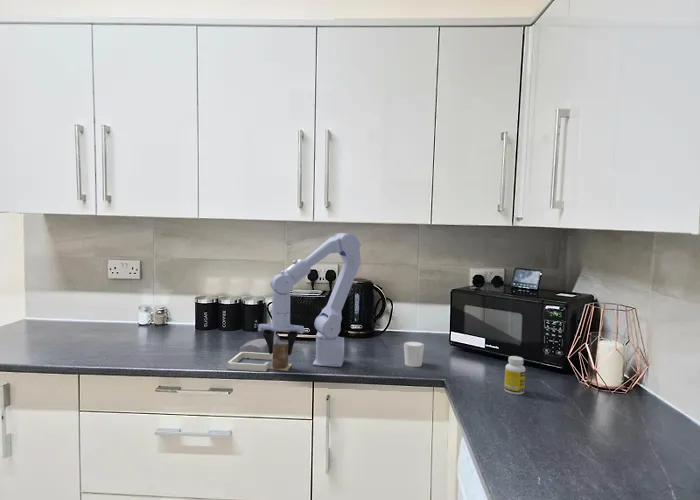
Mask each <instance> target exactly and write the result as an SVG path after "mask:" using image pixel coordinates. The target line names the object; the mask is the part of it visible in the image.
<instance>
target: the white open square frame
mask: <svg viewBox="0 0 700 500" xmlns="http://www.w3.org/2000/svg"><path fill="white" fill-rule="evenodd" d="M247 358H249V360H250V359H251V360H263V361H264V360H268V361H266V362H264V363H263V364H262V363H250V362H249V363H248V362H240V361H241V360H242V359H247ZM269 361H271V363H273V353H272V354H269V352H268V353H255V352H240V351H239V352H238V353H237V354H236V355H234V357H232V358H231V359H230V360H228V361H227V362H226V370H233V371H234V370H235V371H236V370H237V371H249V372H264V373H265V372H267V371H268V370H269V369H270V367H269V366H270V362H269Z"/></svg>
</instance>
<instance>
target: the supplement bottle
mask: <svg viewBox="0 0 700 500" xmlns="http://www.w3.org/2000/svg"><path fill="white" fill-rule="evenodd" d="M507 361H508V363H507V364H506V365H505V369H504V385H503V386H504V387H503V388H504V391H505V392H506V393H508V394H511V395H523V394H525V386H526V385H525V384H526V383H525V382H526V367H525V366H524V358H523V357H522V356H518V355H511V356H508V359H507Z"/></svg>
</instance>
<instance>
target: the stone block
mask: <svg viewBox="0 0 700 500" xmlns="http://www.w3.org/2000/svg"><path fill="white" fill-rule="evenodd" d="M274 342H275V340H273V345H275V343H274ZM240 352H255V353H269V349H268V345H267V342H266V340H265V338H257V339H251V340H249V341H248V342H245V343H244V344H243V345H241V346H240V347H239V353H240Z"/></svg>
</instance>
